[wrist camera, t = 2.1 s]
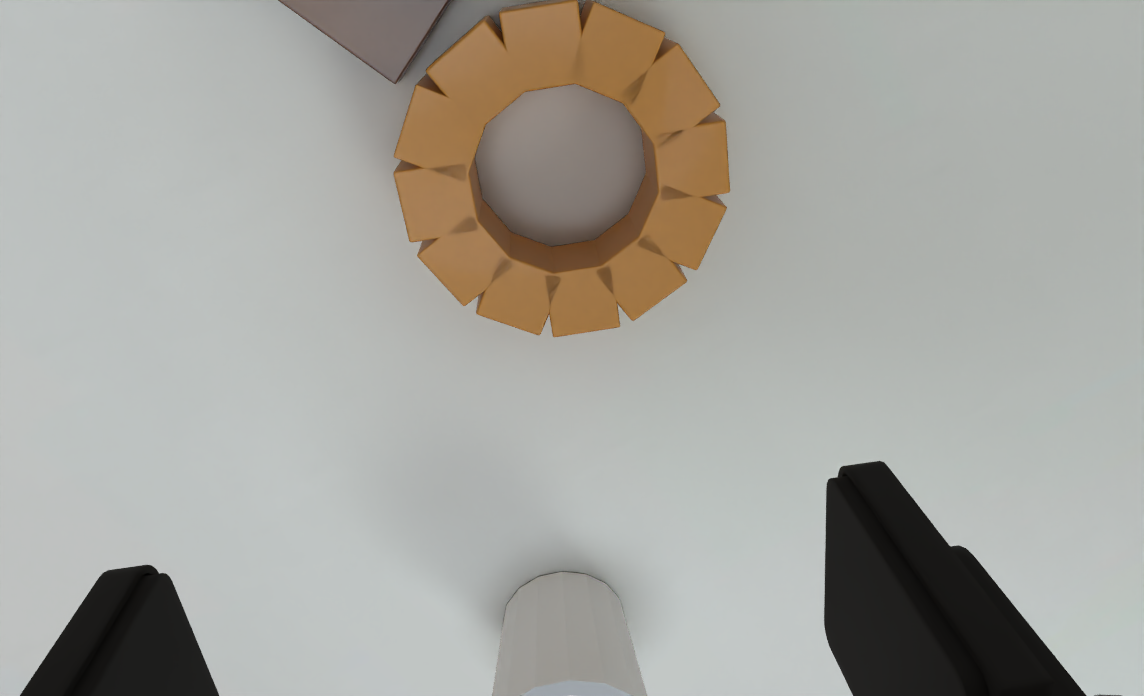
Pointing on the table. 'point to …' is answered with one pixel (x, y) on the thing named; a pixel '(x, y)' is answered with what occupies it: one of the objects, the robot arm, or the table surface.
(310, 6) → the post
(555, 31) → the ring
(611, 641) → the grey cylinder
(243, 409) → the table surface
